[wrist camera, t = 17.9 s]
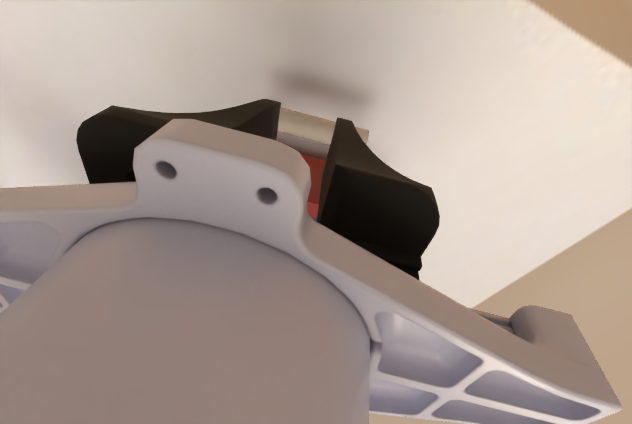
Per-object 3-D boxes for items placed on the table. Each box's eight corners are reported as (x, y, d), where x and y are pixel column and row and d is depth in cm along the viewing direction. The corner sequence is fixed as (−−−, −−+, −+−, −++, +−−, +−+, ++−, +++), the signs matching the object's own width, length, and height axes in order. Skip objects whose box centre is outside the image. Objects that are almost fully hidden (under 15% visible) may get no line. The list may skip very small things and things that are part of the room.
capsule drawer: (252, 79, 21) (219, 109, 17) (397, 116, 21) (402, 156, 17) (242, 239, 32) (220, 284, 27) (339, 264, 32) (333, 313, 27)
